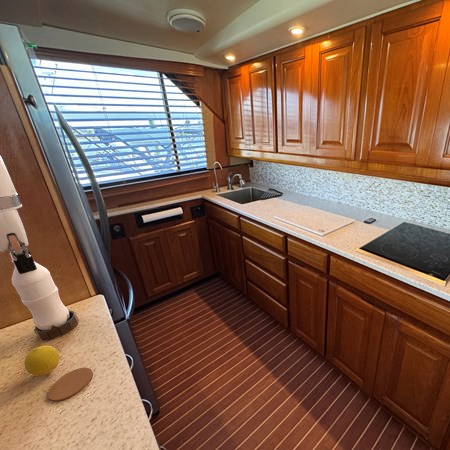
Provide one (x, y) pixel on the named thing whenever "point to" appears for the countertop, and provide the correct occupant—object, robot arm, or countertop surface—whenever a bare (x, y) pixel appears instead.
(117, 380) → the countertop surface
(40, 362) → the lemon
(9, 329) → the countertop surface
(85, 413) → the countertop surface
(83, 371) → the cork coaster
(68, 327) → the ring
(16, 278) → the water bottle
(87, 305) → the countertop surface
